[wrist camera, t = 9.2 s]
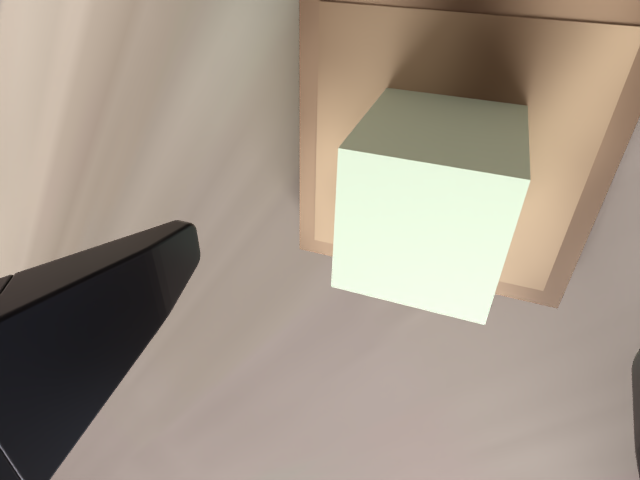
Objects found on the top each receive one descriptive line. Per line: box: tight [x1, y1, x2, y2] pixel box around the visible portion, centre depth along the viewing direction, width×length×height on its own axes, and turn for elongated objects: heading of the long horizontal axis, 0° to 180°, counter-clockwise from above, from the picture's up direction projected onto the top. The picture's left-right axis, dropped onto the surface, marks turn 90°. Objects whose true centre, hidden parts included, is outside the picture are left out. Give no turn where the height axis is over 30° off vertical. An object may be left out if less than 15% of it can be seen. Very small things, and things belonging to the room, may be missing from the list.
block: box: [331, 88, 531, 325], centre depth 16 cm, size 5×5×6 cm
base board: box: [299, 0, 640, 308], centre depth 19 cm, size 12×12×2 cm
